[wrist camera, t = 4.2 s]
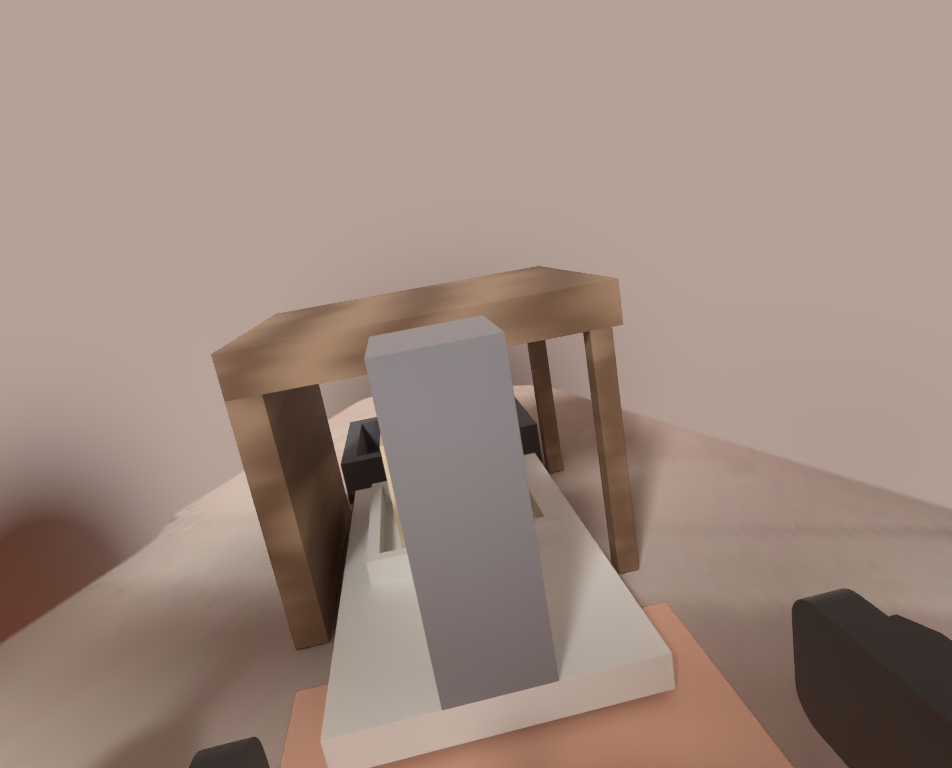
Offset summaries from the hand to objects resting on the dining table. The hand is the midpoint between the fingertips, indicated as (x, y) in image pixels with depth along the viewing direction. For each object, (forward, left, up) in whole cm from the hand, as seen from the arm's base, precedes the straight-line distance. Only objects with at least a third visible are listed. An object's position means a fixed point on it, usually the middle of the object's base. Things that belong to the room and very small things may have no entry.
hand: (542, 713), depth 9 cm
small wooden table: (0, +24, -10) cm, 26 cm away
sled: (0, +19, -9) cm, 22 cm away
